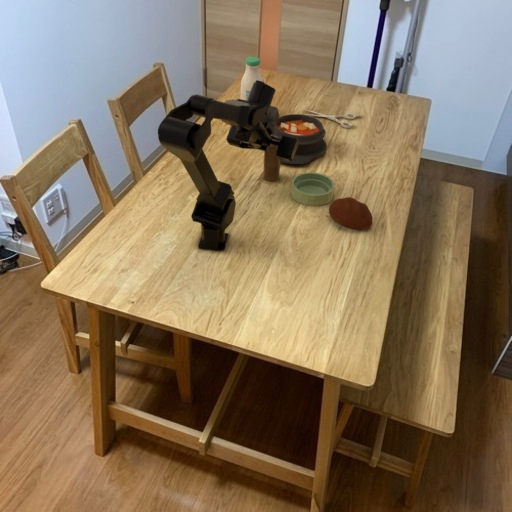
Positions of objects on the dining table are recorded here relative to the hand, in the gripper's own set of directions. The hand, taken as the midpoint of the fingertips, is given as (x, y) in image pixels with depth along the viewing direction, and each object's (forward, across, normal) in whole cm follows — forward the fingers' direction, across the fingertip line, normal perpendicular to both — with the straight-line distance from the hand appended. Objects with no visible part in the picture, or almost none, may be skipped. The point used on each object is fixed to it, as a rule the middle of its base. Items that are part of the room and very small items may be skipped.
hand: (270, 151), depth 145 cm
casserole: (+22, +1, -8) cm, 23 cm away
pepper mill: (+8, 0, +6) cm, 10 cm away
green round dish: (+6, -14, +7) cm, 17 cm away
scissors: (+40, -1, -27) cm, 48 cm away
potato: (+1, -27, +13) cm, 30 cm away
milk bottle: (+31, +23, -18) cm, 43 cm away
